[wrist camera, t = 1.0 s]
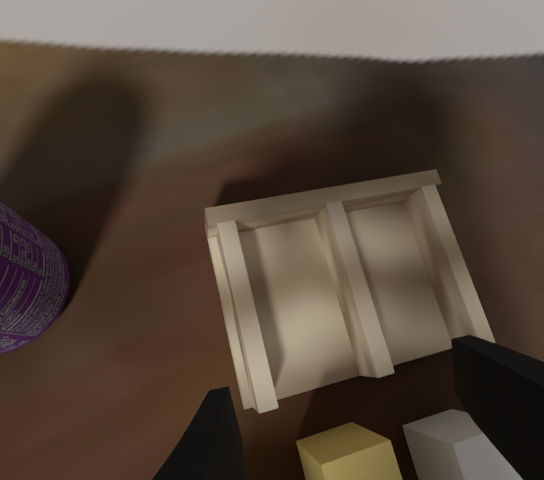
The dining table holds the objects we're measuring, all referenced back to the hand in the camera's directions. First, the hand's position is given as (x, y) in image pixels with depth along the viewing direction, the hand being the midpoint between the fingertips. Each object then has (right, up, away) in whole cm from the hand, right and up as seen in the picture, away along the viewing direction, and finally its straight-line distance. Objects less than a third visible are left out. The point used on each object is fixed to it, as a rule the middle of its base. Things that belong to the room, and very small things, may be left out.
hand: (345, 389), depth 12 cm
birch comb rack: (+2, +2, +13) cm, 13 cm away
